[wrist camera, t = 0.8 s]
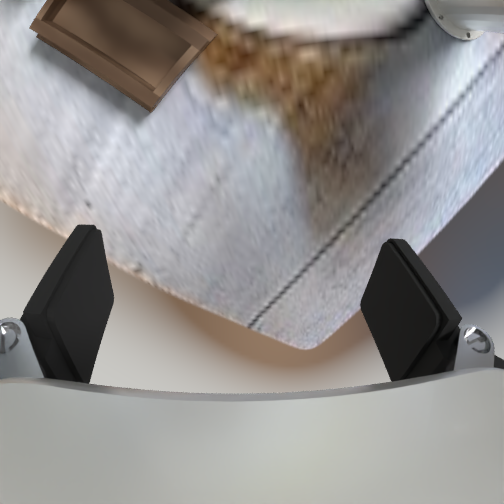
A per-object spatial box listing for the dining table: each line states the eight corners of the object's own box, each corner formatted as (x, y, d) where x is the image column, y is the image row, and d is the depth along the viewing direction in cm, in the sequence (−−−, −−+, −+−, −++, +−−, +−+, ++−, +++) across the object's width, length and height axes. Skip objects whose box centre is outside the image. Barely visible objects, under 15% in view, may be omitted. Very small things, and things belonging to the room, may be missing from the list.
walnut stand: (95, -39, 21) (83, -47, 18) (217, 35, 30) (216, 31, 26) (39, 36, 26) (23, 37, 22) (152, 111, 34) (145, 116, 31)
